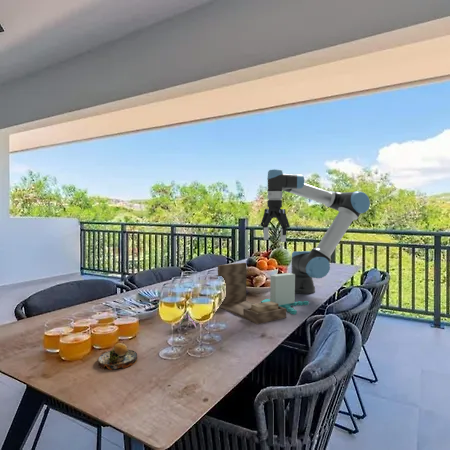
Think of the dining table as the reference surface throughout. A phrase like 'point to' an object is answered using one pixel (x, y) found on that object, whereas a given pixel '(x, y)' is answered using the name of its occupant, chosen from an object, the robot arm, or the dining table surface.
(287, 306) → the teal pixel art cutout
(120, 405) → the dining table surface
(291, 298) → the sage sheet
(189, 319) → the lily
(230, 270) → the rack
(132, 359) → the small appetizer plate
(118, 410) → the dining table surface
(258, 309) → the upper offcut
